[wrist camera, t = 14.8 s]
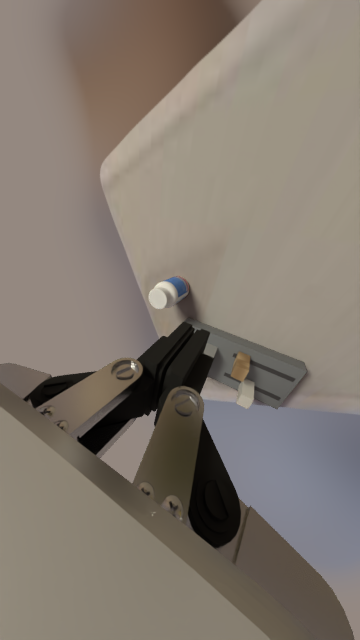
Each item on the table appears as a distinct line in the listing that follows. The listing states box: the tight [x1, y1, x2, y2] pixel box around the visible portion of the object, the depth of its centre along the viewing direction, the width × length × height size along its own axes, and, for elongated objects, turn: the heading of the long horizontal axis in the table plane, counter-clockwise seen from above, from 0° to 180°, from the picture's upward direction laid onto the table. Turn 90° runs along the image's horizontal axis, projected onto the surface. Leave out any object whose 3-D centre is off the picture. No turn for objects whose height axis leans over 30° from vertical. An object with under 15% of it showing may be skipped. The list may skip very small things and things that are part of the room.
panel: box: [184, 318, 307, 409], centre depth 37 cm, size 26×12×7 cm, turn 77°
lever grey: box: [236, 378, 254, 409], centre depth 35 cm, size 2×3×5 cm
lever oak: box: [231, 351, 250, 382], centre depth 33 cm, size 2×3×5 cm
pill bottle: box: [149, 276, 189, 309], centre depth 35 cm, size 6×5×10 cm
